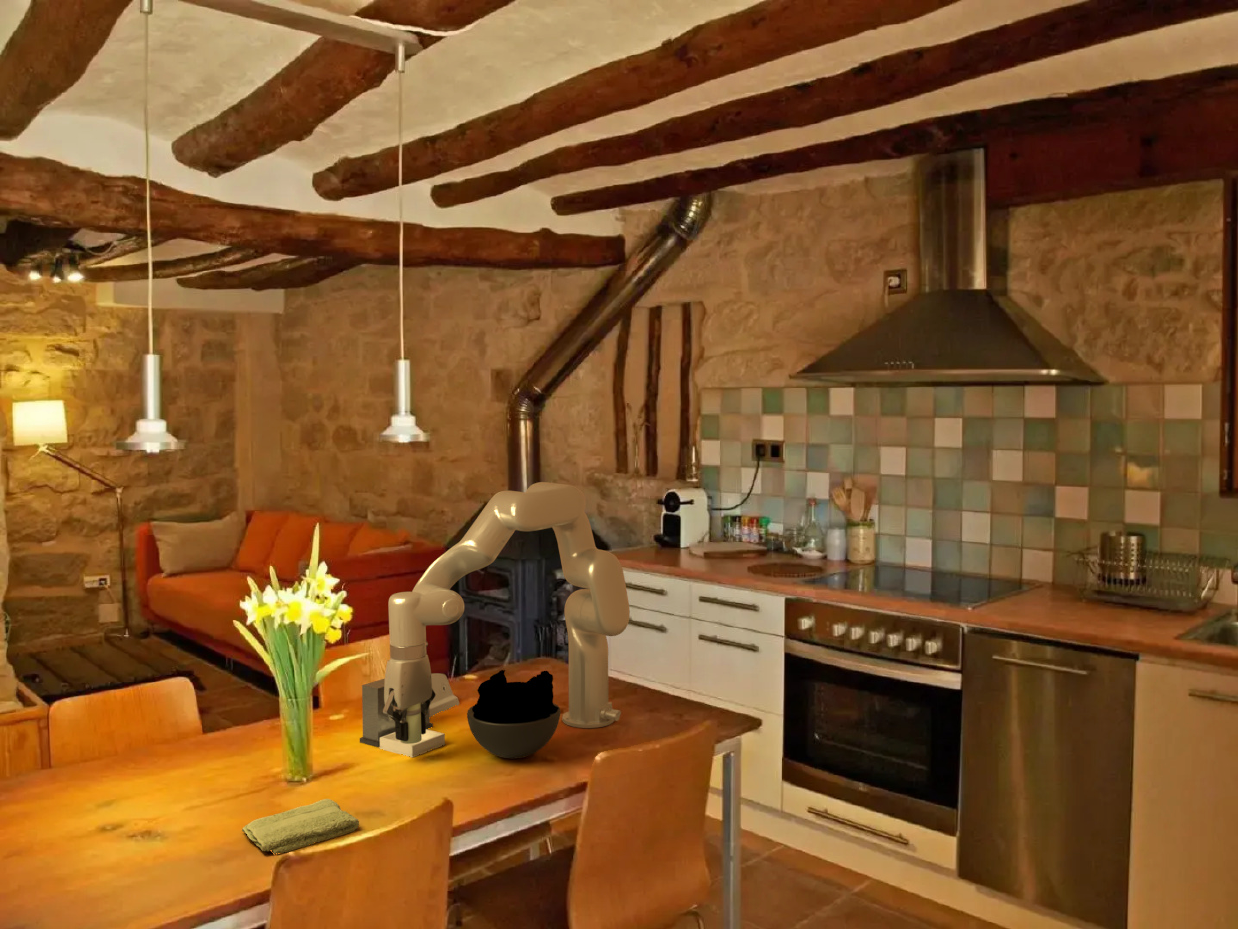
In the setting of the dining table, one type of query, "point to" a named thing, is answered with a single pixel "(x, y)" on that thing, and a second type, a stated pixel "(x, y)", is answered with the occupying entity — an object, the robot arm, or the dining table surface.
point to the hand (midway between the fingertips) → (410, 735)
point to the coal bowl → (514, 715)
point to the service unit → (378, 714)
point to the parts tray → (426, 744)
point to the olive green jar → (413, 724)
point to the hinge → (441, 694)
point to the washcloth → (300, 827)
